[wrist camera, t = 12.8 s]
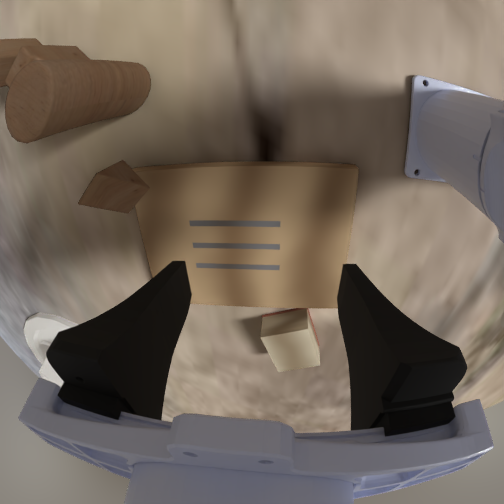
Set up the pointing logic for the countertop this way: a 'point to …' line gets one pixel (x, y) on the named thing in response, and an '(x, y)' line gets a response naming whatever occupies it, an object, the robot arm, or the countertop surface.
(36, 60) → the wooden block set
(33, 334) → the dish
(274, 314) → the block
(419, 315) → the countertop surface
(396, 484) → the robot arm
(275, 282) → the board
